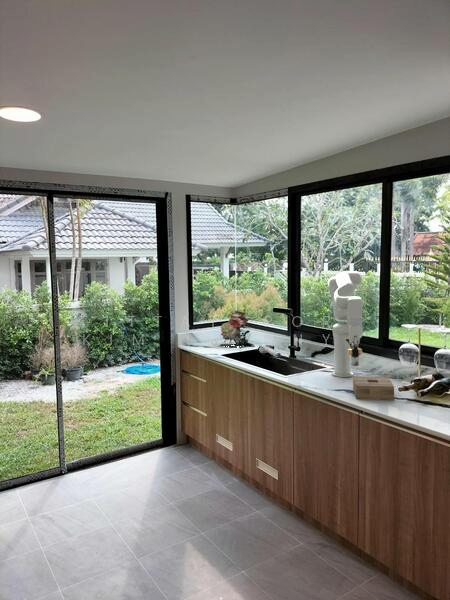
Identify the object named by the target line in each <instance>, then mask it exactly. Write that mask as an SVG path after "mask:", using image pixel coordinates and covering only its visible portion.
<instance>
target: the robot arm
mask: <svg viewBox="0 0 450 600" xmlns="http://www.w3.org/2000/svg"><path fill="white" fill-rule="evenodd" d="M362 282H363V277H362V275H361V272H359V271H342V272H339V273H337V275H336V276H332V277H330V278H329V279H328V281H327V286H328V291H329V294H330V296H331V299H332V309H333V310H332V311H333V317H334V320H335V321H337V323H334V324H333V326H332V336H333V357H334V358H333V361H334V365H333V366H334V370H333V371H332V372H331V375H332V377H333V376H334V377H338V378H348V377H349V378H350V377H353V376H354V373H353V372H352V371H351V366H352V365H351V355H350V354H348V348H353V349H352V357H359V358H360V355H359V349H358V348H359V344H360V340H361V338H362V337H363V334H364V331H363V303H364V302H363V299H362V298H361V296H359V295H358V296H355V295H354V296H353V295H352V294H354V292H355V290H357V289H358V288H360V287H361V285H362ZM347 340H348V341H347Z"/></svg>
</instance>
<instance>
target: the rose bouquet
mask: <svg viewBox="0 0 450 600" xmlns="http://www.w3.org/2000/svg"><path fill="white" fill-rule="evenodd" d="M228 315H229V317H230V318H229V320H228V321H227V322H225V323H222V324H221V326H220V330H221V331H220V332H221V334H220V336H222V338H223V339H224V341H223V343H219V347H220V346H227V347H228V346H229V348H228V349H231V348H237V346H241V347H239V348H240V349H241V348H246V346H247V345H249V346H251V347H255V344H253V343H251V342H249V339H246V338H247V336H246V335H245V336H243V337H242V336H241V332H242V331H243V330H241V329H251V327H250V326H248V321H250V320H251V318H246V316H247V313H245V312H243V311H240V310H232V311H231V312H230V314H228ZM227 340H228V341H229V343H226V341H227ZM232 341H233V342H234V343H236V345H237V346H236V345H235V346H231V345H232V344H233V343H232Z"/></svg>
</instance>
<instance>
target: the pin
mask: <svg viewBox="0 0 450 600" xmlns="http://www.w3.org/2000/svg"><path fill="white" fill-rule="evenodd" d="M352 349H353V348H351V347H350V348H348V354H350V355H351V366H352V367H358V366H360V355H362V354H363V349H362V348H360V347H358V349H359V357H352Z"/></svg>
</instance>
